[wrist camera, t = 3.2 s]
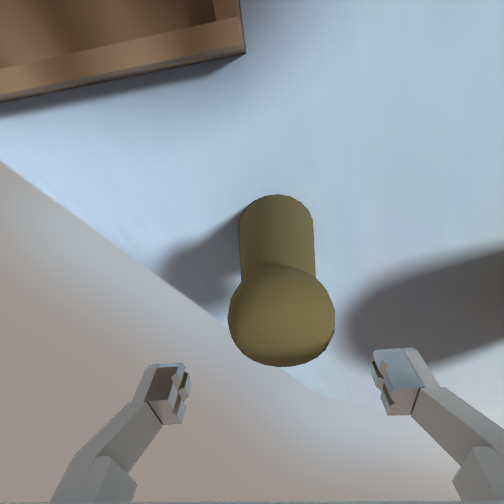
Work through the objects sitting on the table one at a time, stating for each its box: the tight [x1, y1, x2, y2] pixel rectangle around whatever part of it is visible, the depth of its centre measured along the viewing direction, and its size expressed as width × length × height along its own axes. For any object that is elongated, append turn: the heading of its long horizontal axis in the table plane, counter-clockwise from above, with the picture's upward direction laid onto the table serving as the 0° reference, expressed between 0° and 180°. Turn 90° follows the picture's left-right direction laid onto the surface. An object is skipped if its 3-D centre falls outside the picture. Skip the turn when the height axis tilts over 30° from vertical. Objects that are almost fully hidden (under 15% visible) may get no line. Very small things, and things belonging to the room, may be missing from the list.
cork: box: [228, 194, 335, 367], centre depth 16 cm, size 6×6×11 cm
